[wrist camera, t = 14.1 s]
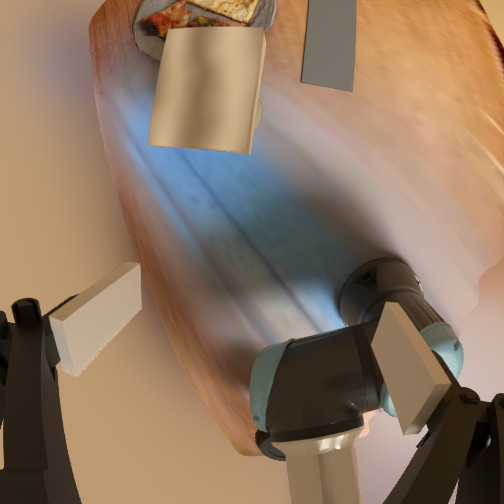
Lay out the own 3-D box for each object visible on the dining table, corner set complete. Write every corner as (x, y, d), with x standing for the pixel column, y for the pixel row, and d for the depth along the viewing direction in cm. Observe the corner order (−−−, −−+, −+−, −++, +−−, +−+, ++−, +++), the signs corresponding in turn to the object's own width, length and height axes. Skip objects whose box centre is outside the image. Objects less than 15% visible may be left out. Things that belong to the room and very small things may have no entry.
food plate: (115, 39, 38) (106, 34, 35) (193, -41, 32) (189, -50, 28) (215, 96, 41) (210, 91, 38) (301, 4, 34) (302, -6, 31)
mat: (355, -17, 31) (355, -17, 30) (352, 92, 38) (352, 91, 37) (311, -25, 31) (311, -26, 31) (301, 82, 38) (301, 82, 38)
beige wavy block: (266, 44, 27) (263, 27, 23) (250, 154, 31) (244, 152, 27) (181, 43, 28) (168, 29, 24) (164, 147, 32) (147, 145, 28)
